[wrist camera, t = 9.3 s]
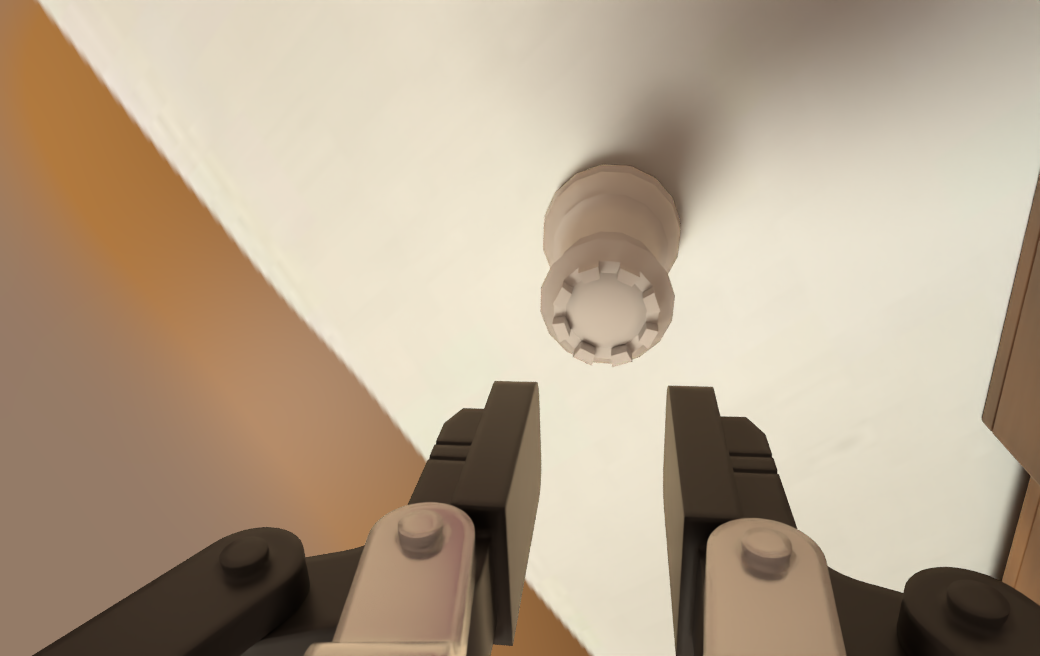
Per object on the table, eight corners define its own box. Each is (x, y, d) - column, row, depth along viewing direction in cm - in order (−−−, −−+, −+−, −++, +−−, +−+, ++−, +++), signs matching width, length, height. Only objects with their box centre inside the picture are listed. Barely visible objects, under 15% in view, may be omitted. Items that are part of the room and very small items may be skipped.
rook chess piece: (685, 283, 25) (711, 394, 17) (555, 299, 26) (527, 411, 18) (673, 150, 23) (695, 211, 16) (534, 171, 24) (493, 238, 17)
